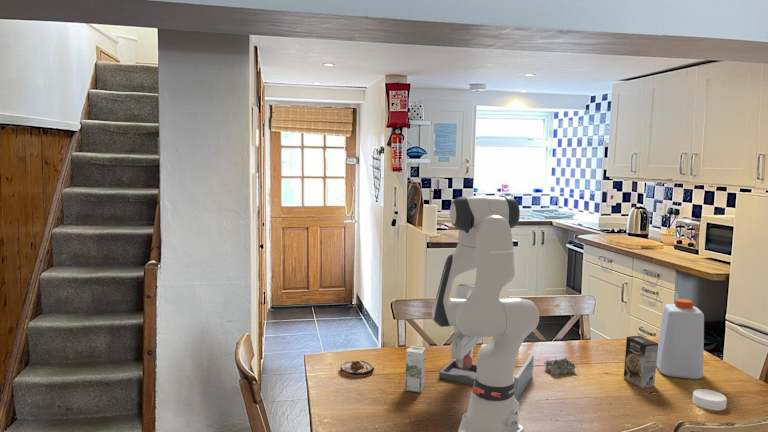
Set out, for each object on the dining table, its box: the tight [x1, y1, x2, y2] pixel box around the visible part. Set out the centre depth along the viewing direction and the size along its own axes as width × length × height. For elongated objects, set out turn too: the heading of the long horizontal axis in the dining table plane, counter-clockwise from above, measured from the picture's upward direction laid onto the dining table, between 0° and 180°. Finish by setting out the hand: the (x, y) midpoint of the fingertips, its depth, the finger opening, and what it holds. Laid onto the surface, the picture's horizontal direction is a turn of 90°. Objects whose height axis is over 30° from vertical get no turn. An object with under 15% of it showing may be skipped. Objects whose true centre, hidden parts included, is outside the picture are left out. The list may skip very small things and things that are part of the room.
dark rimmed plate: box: [340, 360, 375, 378], centre depth 213 cm, size 15×15×4 cm
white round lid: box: [692, 388, 728, 411], centre depth 192 cm, size 10×10×4 cm
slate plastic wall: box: [514, 354, 534, 401], centre depth 202 cm, size 24×1×8 cm, turn 153°
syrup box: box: [404, 345, 426, 394], centre depth 198 cm, size 6×6×14 cm
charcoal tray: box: [438, 359, 477, 387], centre depth 212 cm, size 14×14×2 cm
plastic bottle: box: [656, 298, 705, 380], centre depth 219 cm, size 15×15×28 cm
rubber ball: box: [455, 354, 473, 370], centre depth 211 cm, size 6×6×6 cm
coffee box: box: [623, 335, 658, 389], centre depth 208 cm, size 9×6×16 cm
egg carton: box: [543, 357, 578, 376], centre depth 219 cm, size 11×8×4 cm
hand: (464, 363), depth 211 cm, fingers closed on rubber ball, 6 cm apart
